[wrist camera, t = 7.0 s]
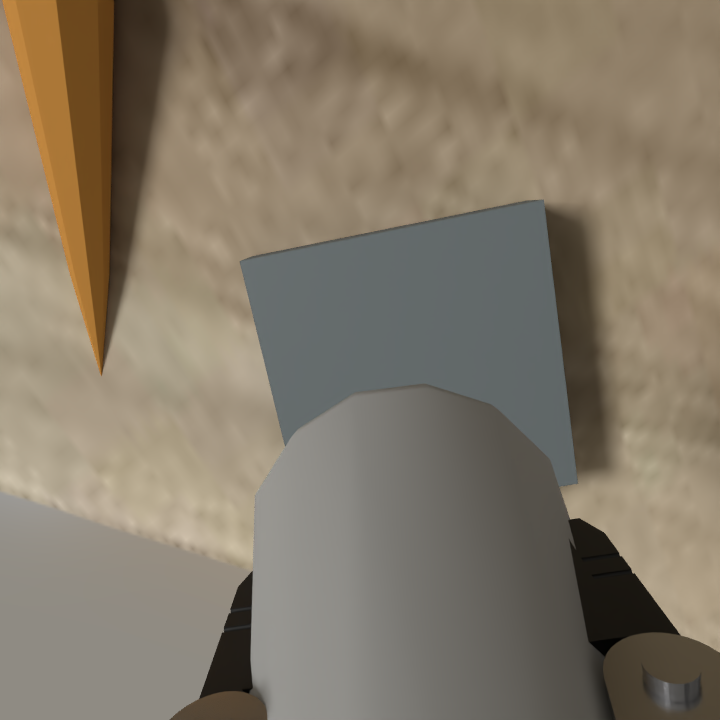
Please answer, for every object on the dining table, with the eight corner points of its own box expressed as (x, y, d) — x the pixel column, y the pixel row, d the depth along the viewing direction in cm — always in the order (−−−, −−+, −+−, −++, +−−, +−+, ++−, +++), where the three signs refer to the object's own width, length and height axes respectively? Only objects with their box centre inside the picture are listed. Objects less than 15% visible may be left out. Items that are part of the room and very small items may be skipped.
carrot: (58, -40, 28) (-35, -71, 24) (132, -47, 26) (45, -82, 23) (102, 358, 35) (35, 383, 31) (163, 372, 33) (100, 401, 29)
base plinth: (526, 200, 29) (543, 199, 26) (559, 459, 33) (577, 483, 30) (252, 256, 30) (239, 261, 27) (311, 502, 34) (305, 529, 31)
